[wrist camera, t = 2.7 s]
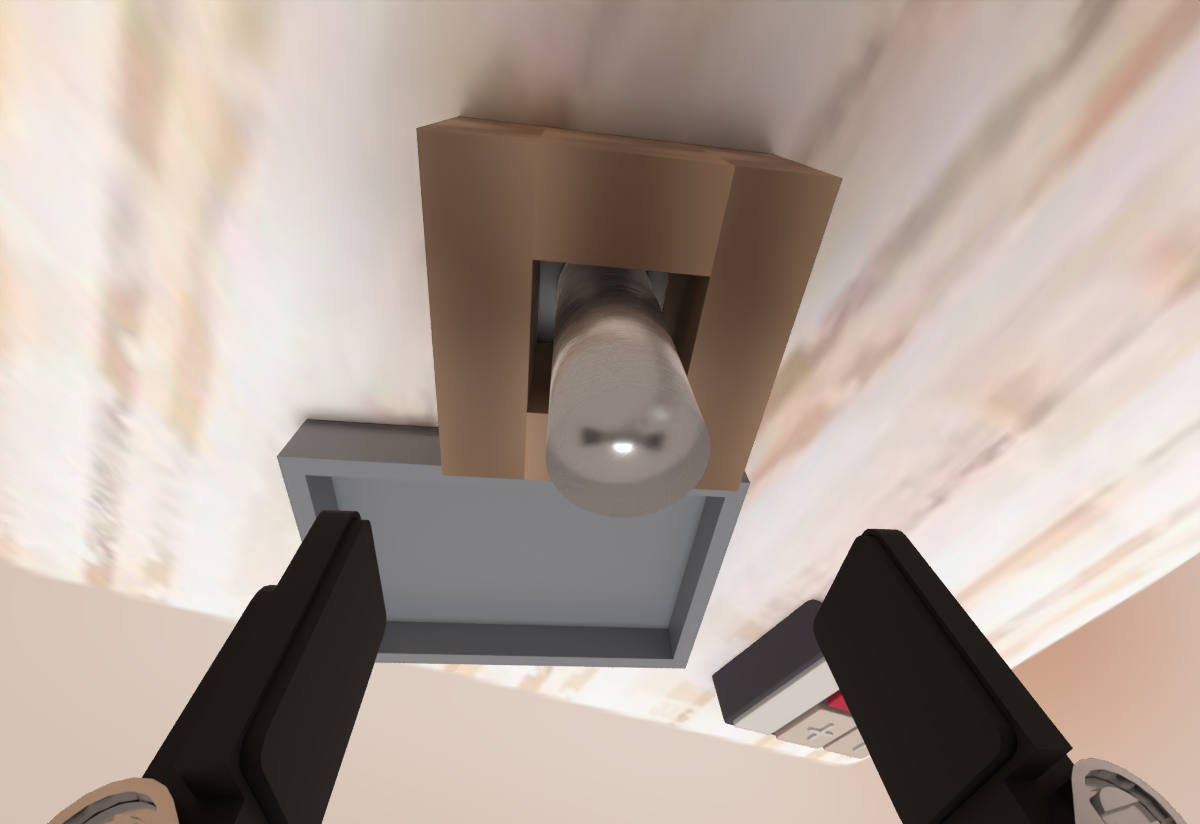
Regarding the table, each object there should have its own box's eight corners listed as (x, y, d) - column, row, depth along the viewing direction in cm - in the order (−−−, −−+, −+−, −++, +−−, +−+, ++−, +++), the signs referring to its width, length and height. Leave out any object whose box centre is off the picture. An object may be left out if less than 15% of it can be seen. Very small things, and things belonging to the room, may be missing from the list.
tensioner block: (773, 154, 20) (842, 178, 15) (705, 412, 26) (737, 491, 21) (458, 116, 19) (416, 128, 14) (468, 396, 25) (442, 475, 20)
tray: (733, 446, 27) (749, 482, 25) (677, 627, 36) (685, 668, 33) (306, 419, 25) (276, 456, 23) (354, 618, 34) (337, 661, 31)
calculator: (862, 766, 42) (725, 735, 36) (837, 710, 45) (708, 675, 40) (978, 702, 37) (839, 655, 32) (940, 646, 41) (809, 595, 35)
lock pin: (655, 248, 22) (727, 392, 11) (641, 335, 24) (692, 520, 14) (560, 238, 21) (550, 379, 11) (555, 327, 23) (541, 513, 13)
